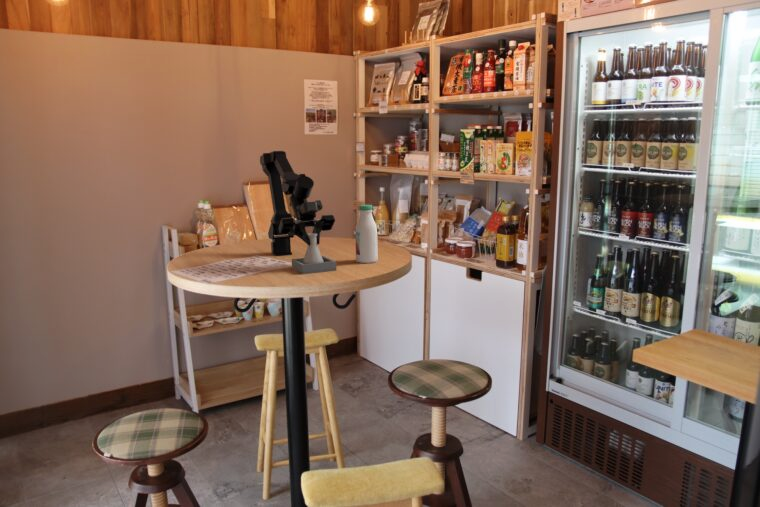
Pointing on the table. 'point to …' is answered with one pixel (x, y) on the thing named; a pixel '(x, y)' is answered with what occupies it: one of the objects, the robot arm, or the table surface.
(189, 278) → the table surface
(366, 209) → the milk bottle
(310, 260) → the flask
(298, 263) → the box
